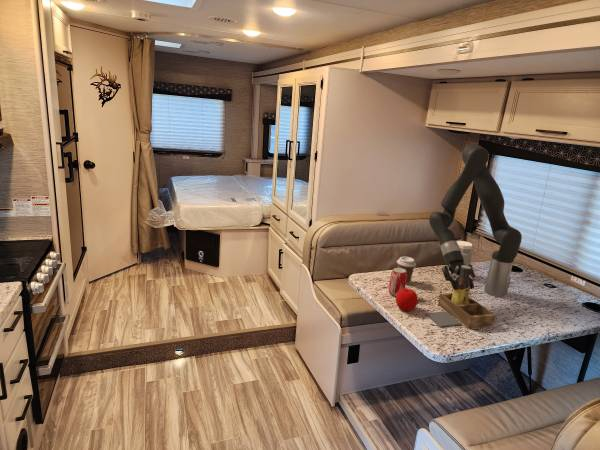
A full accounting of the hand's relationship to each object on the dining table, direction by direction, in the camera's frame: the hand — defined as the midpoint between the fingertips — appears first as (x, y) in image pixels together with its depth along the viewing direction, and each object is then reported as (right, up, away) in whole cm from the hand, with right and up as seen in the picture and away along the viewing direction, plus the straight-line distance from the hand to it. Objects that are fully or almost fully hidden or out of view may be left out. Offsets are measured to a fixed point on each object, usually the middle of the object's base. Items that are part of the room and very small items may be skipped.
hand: (464, 288), depth 165 cm
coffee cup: (-18, -1, +29) cm, 34 cm away
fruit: (-24, -9, +2) cm, 26 cm away
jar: (+14, 0, +41) cm, 44 cm away
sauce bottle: (-1, -10, +4) cm, 11 cm away
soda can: (-25, -5, +15) cm, 30 cm away
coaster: (-11, -12, -5) cm, 17 cm away
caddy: (0, -11, 0) cm, 11 cm away
